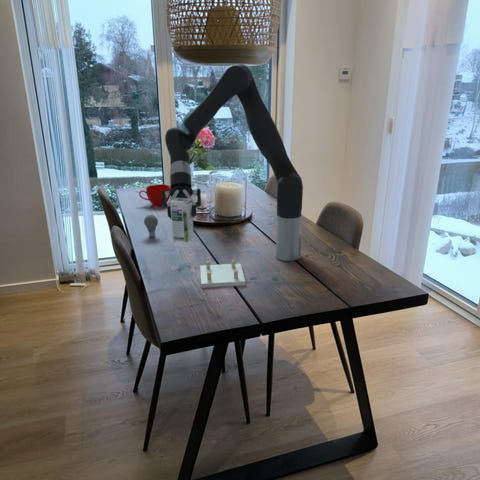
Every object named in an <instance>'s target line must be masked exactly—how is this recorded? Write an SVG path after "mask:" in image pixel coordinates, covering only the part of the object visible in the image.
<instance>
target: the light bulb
mask: <svg viewBox="0 0 480 480" xmlns="http://www.w3.org/2000/svg"><path fill="white" fill-rule="evenodd" d="M143 223H144V226H145V227H146V228H147V232H148V235H149V237H150V238H153V237H155V236H156V228H157V226H158V225H159V219H158V217H157V216H156V215H154V214H149V215H146V216H145V218H144V220H143Z"/></svg>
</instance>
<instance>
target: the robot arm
mask: <svg viewBox="0 0 480 480" xmlns="http://www.w3.org/2000/svg"><path fill="white" fill-rule="evenodd" d="M253 75H254V74H253V73H252V71H251V69H250V68H249V67H248V66H247V65H246V64H243V63H235V64H232V65H230V66H228V67H226V69H225V70H224V72H223V73H222V75H221V77H220V79H219V80H218V81H217V83H216V84H215V86H214V87H213V88H212V89H211V91H210V92H209V93H208V94H207V95H206V97H204V98H203V99H202V101H201V102H200V103H199V104H198V105H197V106H196V107H195V108H194V109H192V111H191V112H190V113H189V115H187V116H186V117H185V119H183V125H184V127H185V128H186V129H187V131H184V130H183V129H181V128H179V127H177V126H171V127H169V128H168V129H167V130H166V133H165V137H164V141H165V145H166V148H167V152H168V155H169V157H170V160H169V161H170V168H169V186H170V191H167V192H165V191H164V190H162V192H161V193H162V206H161V207H162V209H166V210H167V218H169V219H170V220H172V218H171V206H170V201H172V200H173V199H175V198H188V199H192V217H193V219H195V217H196V216H197V208H199V207H202V198H201V197H202V196H201V195H202V194H201V191H202V190H201V188H197V189H193V187H192V185H193V184H192V170H191V166H190V165H191V163H190V155H189V152H188V151H189V150H190V149H191V148H193V145H194V144H195V142H196V139H197V137H199V134H200V132H202V130H203V129H204V128H205V127H207V125H208V124H210V122H211V121H212V120H213V118H214V117H215V116H216V114H217V113H218V112H219V110H221V108H223V106H224V105H225V104H226V103H227V102H228V101H230V100H231V99H232V98H234V97H235V96H237V98H238V100H239V102H240V104H241V105H242V108H243V111H244V114H245V120H246V123H247V127H248V130H249V133H250V135H251V137H252V139H253V142H254V143H255V145H256V146H257V149H258V150H259V152H260V153H261V155H262V156H263V157H264V159H265V160H266V162H268V164H269V165H270V167H271V169H272V172H273V175H274V177H275V180H276V183H277V187H276V188H277V189H276V190H277V192H276V195H277V196H276V231H275V232H276V237H275V238H276V239H275V241H276V242H275V258H276V259H278V260H279V261H283V262H293V261H296V260H301V259H302V257H301V255H302V243H303V242H302V237H303V236H302V234H301V232H302V231H301V228H302V209H303V194H304V193H303V192H304V190H303V189H304V186H303V180H302V177H301V176H300V173H298V171H297V170H296V168H295V167H294V165H293V163H292V161H291V160H290V158H289V156H288V153H287V150H286V147H285V144H284V142H283V139H282V137H281V134H280V131H279V130H278V127H277V125H276V123H275V121H274V120H273V117H272V116H271V113H270V112H269V110H268V108H267V106H266V104H265V103H264V101H263V100H262V97H261V95H260V93H259V89H258V86H257V85H256V84H257V83H256V82H255V79H254V76H253ZM168 195H170V197H171V198H169V200H168V202H167V203H166V198H167V197H168ZM193 195H194V196H195V197H197V201H195V200H194V199H193Z"/></svg>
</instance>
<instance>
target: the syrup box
mask: <svg viewBox="0 0 480 480" xmlns="http://www.w3.org/2000/svg"><path fill="white" fill-rule="evenodd" d="M192 199H193V198H192ZM192 199H188V198H175V199H173V200H172V201H170V200H169V201H170V206H171V218H172V219H171V227H172V240H173V241H174V242H181V243H182V242H183V243H188V242H190V241H191V240H192V239H193V238H194V237H195V233H194V218H193V217H192Z"/></svg>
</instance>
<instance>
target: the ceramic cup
mask: <svg viewBox="0 0 480 480" xmlns="http://www.w3.org/2000/svg"><path fill="white" fill-rule="evenodd" d="M162 190H164V191H165V192H167V191H170V185H167V184H162V183H161V184H152V185H148V186H146V188H145V190H140V191H139V192H138V195H139V197H140V198H141V199H143V200H145V201H149V203H151V205H152V206H154V207H163V206H162V193H161V192H162ZM141 193H145V194H146V197H147V198H145V197H143V195H141ZM170 197H171V196H170V195H168V197H167V198H166V203H167V204H168V203H169V201H170Z"/></svg>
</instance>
